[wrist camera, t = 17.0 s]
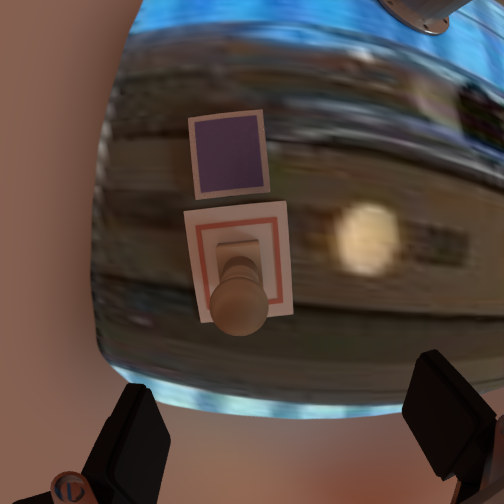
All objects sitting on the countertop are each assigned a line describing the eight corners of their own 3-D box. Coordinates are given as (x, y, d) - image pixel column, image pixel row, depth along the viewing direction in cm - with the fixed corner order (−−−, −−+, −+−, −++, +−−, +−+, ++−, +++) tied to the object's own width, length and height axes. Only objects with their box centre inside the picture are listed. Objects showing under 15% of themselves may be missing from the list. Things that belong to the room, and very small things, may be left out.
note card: (184, 211, 27) (183, 211, 27) (285, 200, 27) (286, 200, 27) (201, 321, 30) (200, 323, 30) (292, 312, 30) (293, 314, 30)
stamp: (217, 243, 28) (199, 284, 16) (258, 239, 28) (268, 278, 16) (223, 290, 29) (212, 355, 17) (262, 287, 29) (273, 350, 17)
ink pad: (190, 120, 25) (187, 117, 24) (261, 112, 25) (262, 108, 24) (197, 199, 27) (195, 200, 26) (269, 191, 27) (270, 192, 26)
